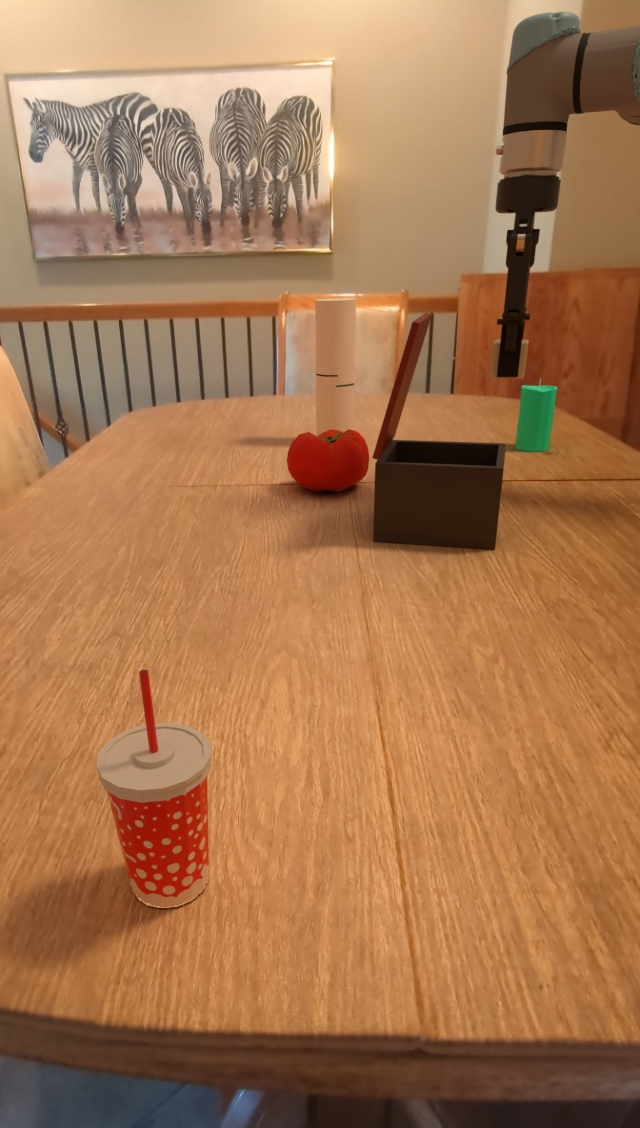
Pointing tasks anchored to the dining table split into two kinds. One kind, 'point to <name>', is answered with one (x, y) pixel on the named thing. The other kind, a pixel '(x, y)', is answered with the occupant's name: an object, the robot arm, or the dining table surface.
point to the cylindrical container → (335, 364)
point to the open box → (438, 493)
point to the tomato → (328, 460)
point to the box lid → (402, 383)
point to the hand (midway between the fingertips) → (508, 373)
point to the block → (496, 357)
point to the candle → (535, 418)
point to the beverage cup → (160, 805)
